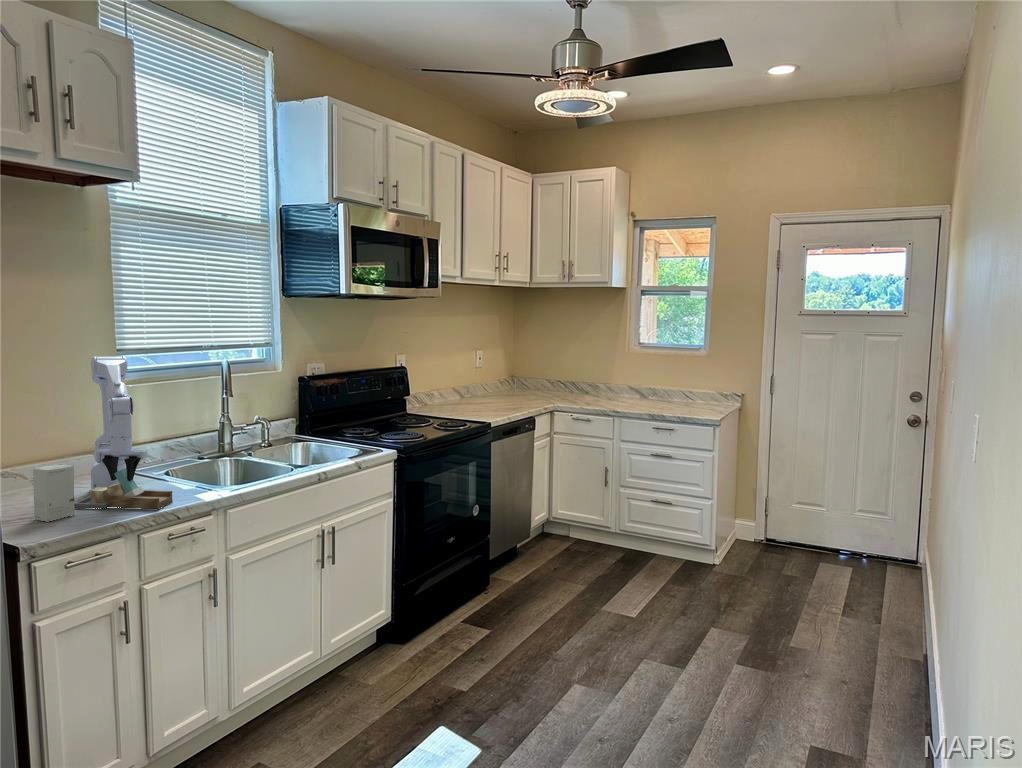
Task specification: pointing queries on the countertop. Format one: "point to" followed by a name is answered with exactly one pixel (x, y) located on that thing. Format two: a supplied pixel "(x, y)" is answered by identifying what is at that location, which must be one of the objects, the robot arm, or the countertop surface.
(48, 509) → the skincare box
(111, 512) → the countertop surface
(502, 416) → the countertop surface
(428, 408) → the countertop surface
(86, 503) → the chip tray
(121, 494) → the block
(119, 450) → the robot arm
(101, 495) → the block
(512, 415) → the countertop surface
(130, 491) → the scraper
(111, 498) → the slot board
